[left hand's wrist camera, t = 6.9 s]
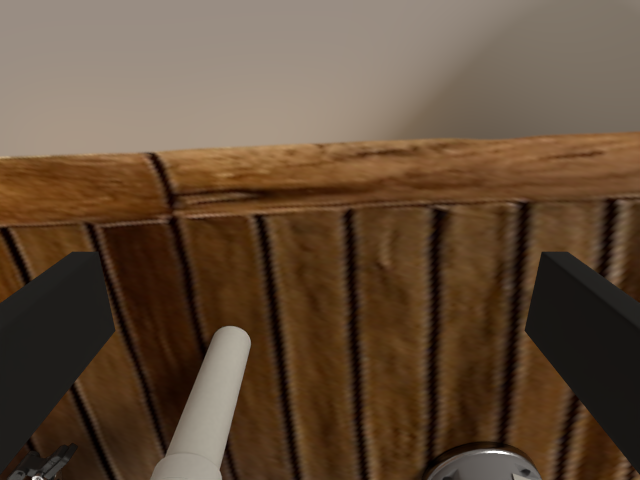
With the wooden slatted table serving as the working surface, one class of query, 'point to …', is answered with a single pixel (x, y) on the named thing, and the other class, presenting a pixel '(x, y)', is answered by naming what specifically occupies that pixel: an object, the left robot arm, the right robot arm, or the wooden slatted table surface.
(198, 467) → the lid
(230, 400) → the off-white cylindrical rod
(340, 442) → the wooden slatted table surface
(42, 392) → the left robot arm
